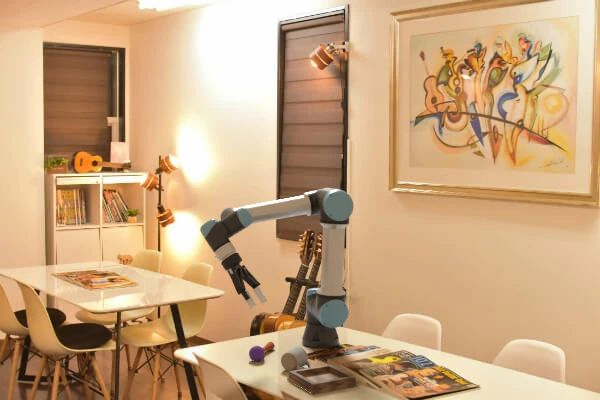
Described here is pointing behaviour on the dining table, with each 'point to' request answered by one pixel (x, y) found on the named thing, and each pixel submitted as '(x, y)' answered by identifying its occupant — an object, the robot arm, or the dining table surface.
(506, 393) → the dining table surface
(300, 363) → the ceramic mug
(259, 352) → the purple maraca
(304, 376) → the brown wooden tray
